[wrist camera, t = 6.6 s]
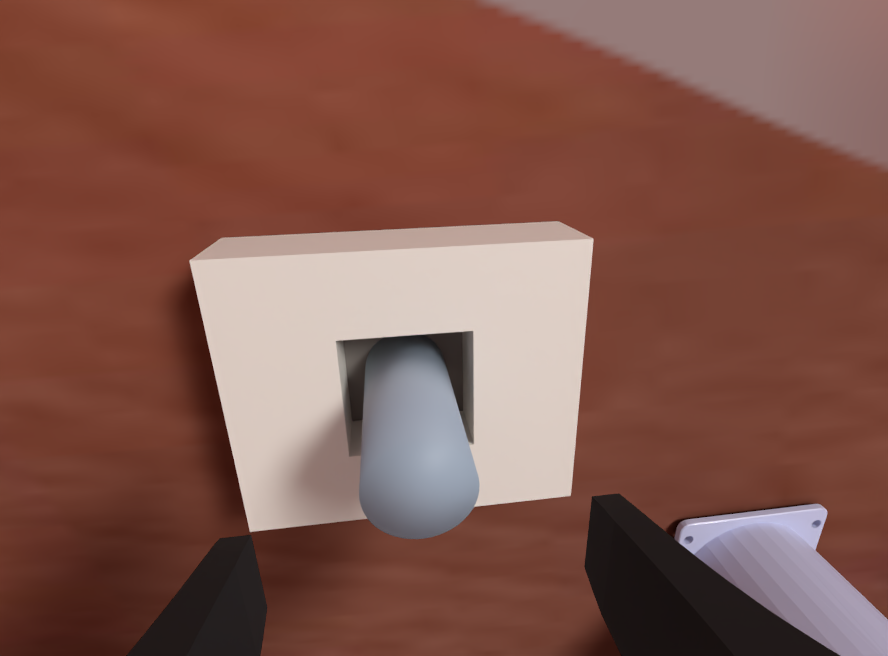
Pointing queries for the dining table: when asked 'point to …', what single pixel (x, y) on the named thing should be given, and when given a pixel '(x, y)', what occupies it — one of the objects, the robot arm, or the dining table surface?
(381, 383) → the dowel
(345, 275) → the bore block
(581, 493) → the dining table surface
